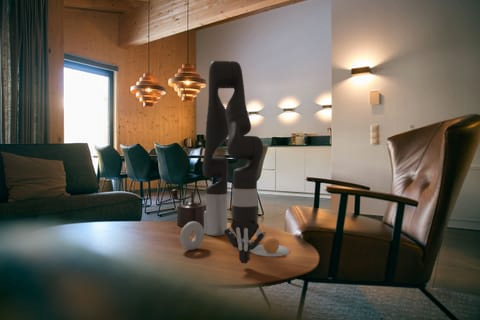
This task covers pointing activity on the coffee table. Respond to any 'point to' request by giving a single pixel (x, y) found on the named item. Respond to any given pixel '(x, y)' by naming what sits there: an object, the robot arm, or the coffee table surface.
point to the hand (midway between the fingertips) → (244, 262)
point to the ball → (271, 244)
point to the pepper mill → (188, 210)
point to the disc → (261, 251)
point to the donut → (197, 238)
